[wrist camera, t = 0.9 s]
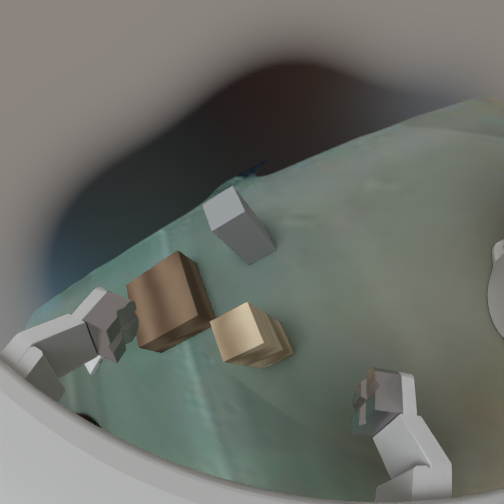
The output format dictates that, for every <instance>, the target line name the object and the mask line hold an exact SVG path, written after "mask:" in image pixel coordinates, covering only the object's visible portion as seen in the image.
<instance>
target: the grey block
mask: <svg viewBox="0 0 504 504" xmlns="http://www.w3.org/2000/svg"><path fill="white" fill-rule="evenodd" d="M203 208H204V211H205V214H206V216H207V219H208V222H209V225H210V228H211V230H212V232H213V233H214V234H215V235H216V236H218V237H219V238H220V239H221V240H222V241H223V242H224V243H225V244H226V245H227V246H228V247H230V248H231V249H232V250H233V251H234V252H235V253H236V254H237V255H238V256H239V257H241V258H242V259H243V260H244V261H245V262H246V263H247V264H248V265H251V264H252V263H254V262H256V261H258V260H259V259H261V258H263V257H265V256H266V255H268V254H270V253H272V252H273V251H275V250H276V248H275V246H274V244H273V242H272V240H271V238H270V236H269V234H268V232H267V230H266V228H265V226H264V225H263V224H262V222H261V221H260V220H259V218H258V217H257V216H256V215H255V213H254V212H253V211H252V209H251V208H250V207H249V206H248V204H247V203H246V202H245V200H244V199H243V198H242V197H241V195H240V194H239V193H238V191H237V190H236V189H235V188H234V186H232V187H230V188H228V189H227V190H225V191H223V192H222V193H220V194H219V195H217V196H215V197H214V198H212V199H211V200H209V201H208V202H206V203H204V204H203Z"/></svg>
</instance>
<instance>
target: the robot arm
mask: <svg viewBox="0 0 504 504" xmlns="http://www.w3.org/2000/svg"><path fill="white" fill-rule="evenodd" d="M503 246H504V239H503V240H501V241H499V242H497V243H496V244H495V245H494V246H493V248H492V263H493V268H492V272H491V276H490V279H489V284H488V307H489V312H490V315H491V318H492V321H493V323H494V325H495V327H496V329H497V330H498V332H499V333H500V335H501V336H502V337H503V338H504V248H503ZM136 309H137V308H136V303H135V301H132V300H130V299H127V298H125V297H122V296H120V295H118V294H115V293H113V292H111V291H108V290H106V289H103V288H101V287H98V288H96V289H94V290H93V292H92V293H91V294H90V295H89V296H88V297H87V298H86V299H85V300H84V301H83V303H82V304H81V305H80V306H79V307H78V308H77V309H76V310H75V311H74V313H73V314H72V315H70V314H67V315H64V316H61V317H59V318H56V319H53V320H51V321H48V322H46V323H43V324H40V325H38V326H35V327H33V328H30V329H27V330H25V331H22V332H20V333H18V334H17V335H16V336H15V337H14V338H13V339H12V340H11V342H10V343H9V344H8V345H7V346H6V347H5V349H4V350H3V351H2V352H1V353H0V504H504V488H501V489H497V490H492V491H488V492H483V493H478V494H472V495H467V496H460V497H453V498H452V464H451V462H450V461H449V459H448V457H447V456H446V454H445V453H444V451H443V449H442V448H441V446H440V445H439V443H438V442H437V440H436V439H435V437H434V435H433V434H432V432H431V431H430V429H429V428H428V426H427V425H426V423H425V422H424V420H423V419H422V417H421V416H417V406H416V395H415V385H414V377H413V375H412V374H406V373H400V372H396V371H390V370H384V369H378V368H371V369H370V370H369V371H368V372H367V379H364V380H362V381H361V382H360V383H359V385H358V386H357V389H356V391H355V394H354V400H353V406H354V408H355V410H356V411H357V412H356V413H355V414H354V415H353V416H352V427H351V433H352V434H358V435H365V436H372V437H373V440H374V442H375V444H376V447H377V449H378V451H379V453H380V456H381V458H382V460H383V462H384V465H385V467H386V469H387V472H388V474H389V476H390V479H391V480H389V481H387V482H385V483H383V484H381V485H379V486H378V487H377V488H376V496H375V502H359V501H343V500H331V499H322V498H314V497H306V496H300V495H293V494H287V493H282V492H277V491H272V490H267V489H262V488H258V487H253V486H249V485H245V484H241V483H237V482H234V481H230V480H226V479H223V478H220V477H216V476H213V475H210V474H207V473H204V472H201V471H198V470H195V469H192V468H189V467H186V466H183V465H181V464H178V463H175V462H173V461H170V460H168V459H165V458H163V457H160V456H158V455H155V454H153V453H151V452H148V451H146V450H144V449H142V448H139V447H137V446H135V445H133V444H131V443H129V442H127V441H125V440H123V439H121V438H119V437H117V436H115V435H113V434H111V433H109V432H107V431H105V430H103V429H101V428H99V427H98V426H96V425H94V424H92V423H91V422H89V421H87V420H85V419H84V418H82V417H80V416H79V415H77V414H75V413H74V412H72V411H70V410H69V409H67V408H66V407H64V406H62V405H61V404H59V403H58V402H59V400H60V399H61V397H62V396H63V394H64V392H65V387H64V386H63V384H62V383H61V381H60V380H59V378H60V377H62V376H64V375H66V374H67V373H69V372H71V371H73V370H75V369H76V368H78V367H80V366H82V365H83V364H85V363H87V362H89V361H91V360H92V359H94V358H96V357H98V355H99V356H101V357H103V358H106V359H108V360H110V361H112V362H115V363H118V361H119V360H120V358H121V357H122V355H123V354H124V353H125V351H126V346H125V344H127V343H129V342H132V341H133V339H134V337H135V336H136V334H137V331H138V328H139V319H138V317H137V315H136V314H135V313H134V311H135V310H136Z"/></svg>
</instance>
